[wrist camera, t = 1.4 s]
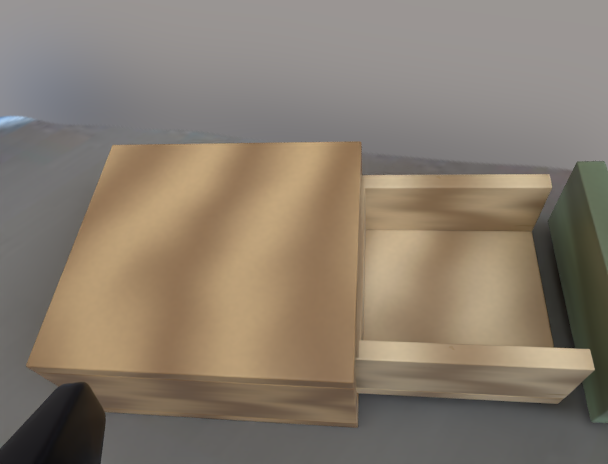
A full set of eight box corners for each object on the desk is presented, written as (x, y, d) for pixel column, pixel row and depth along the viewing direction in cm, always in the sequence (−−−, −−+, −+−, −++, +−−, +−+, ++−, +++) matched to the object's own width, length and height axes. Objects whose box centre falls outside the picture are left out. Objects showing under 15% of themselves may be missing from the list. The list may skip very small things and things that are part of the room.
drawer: (596, 221, 27) (634, 160, 23) (653, 426, 21) (716, 391, 17) (351, 219, 28) (348, 162, 24) (344, 408, 23) (338, 373, 19)
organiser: (363, 219, 29) (361, 140, 24) (357, 427, 23) (353, 383, 18) (156, 218, 31) (112, 144, 26) (98, 411, 25) (24, 366, 19)
